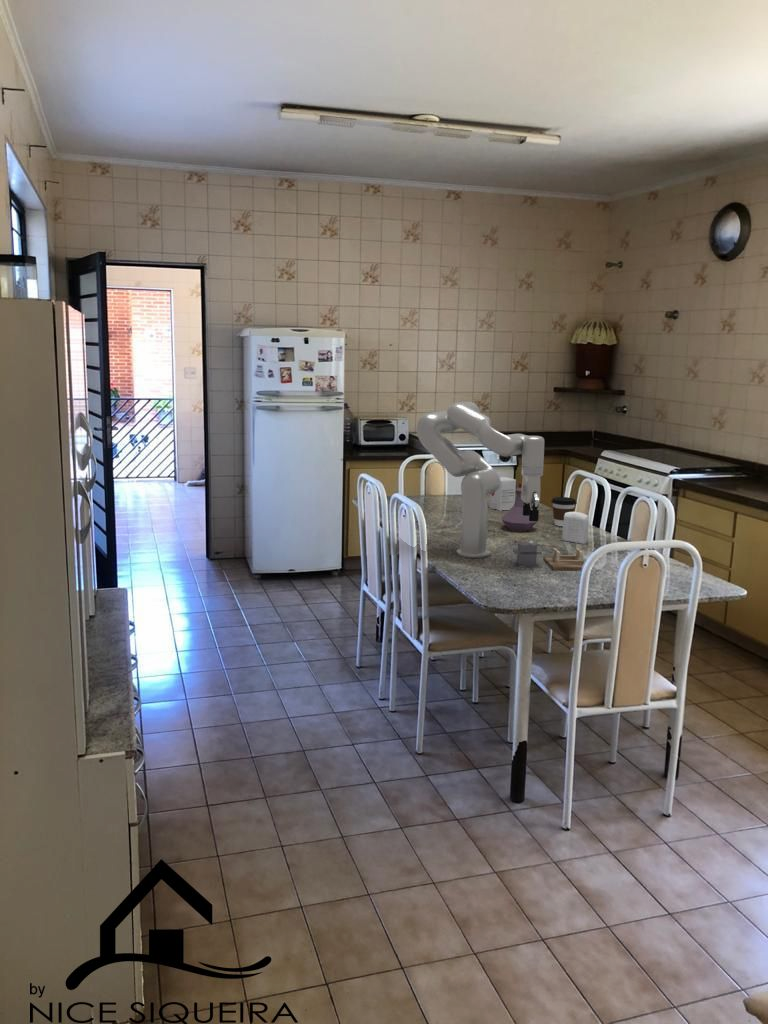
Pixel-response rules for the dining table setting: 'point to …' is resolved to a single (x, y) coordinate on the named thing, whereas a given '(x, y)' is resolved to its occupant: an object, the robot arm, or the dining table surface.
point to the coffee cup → (562, 508)
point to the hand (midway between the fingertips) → (530, 518)
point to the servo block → (527, 553)
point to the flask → (517, 515)
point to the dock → (565, 560)
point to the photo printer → (575, 527)
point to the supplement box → (504, 495)
